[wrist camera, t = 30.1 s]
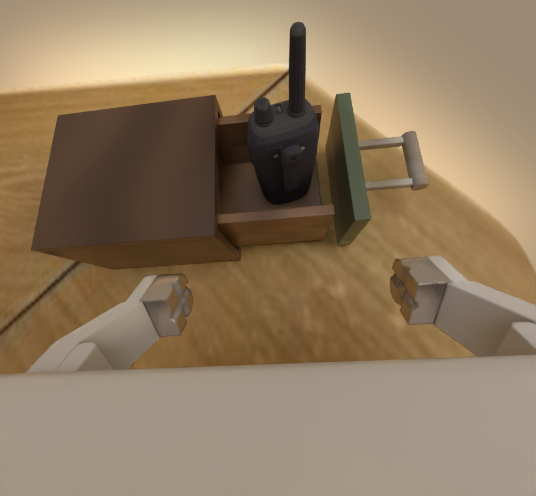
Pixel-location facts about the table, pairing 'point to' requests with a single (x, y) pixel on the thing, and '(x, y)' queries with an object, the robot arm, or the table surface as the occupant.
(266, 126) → the two-way radio
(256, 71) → the table surface
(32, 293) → the table surface
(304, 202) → the drawer
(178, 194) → the cabinet
